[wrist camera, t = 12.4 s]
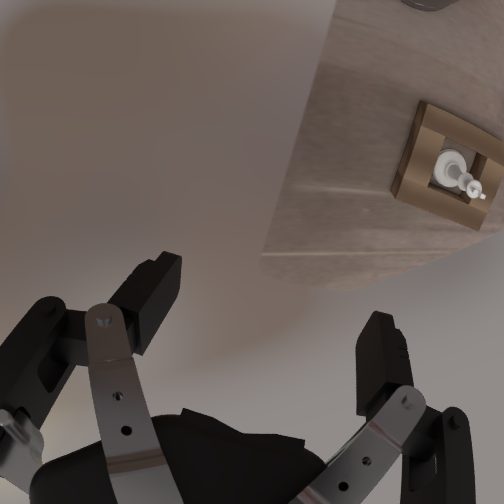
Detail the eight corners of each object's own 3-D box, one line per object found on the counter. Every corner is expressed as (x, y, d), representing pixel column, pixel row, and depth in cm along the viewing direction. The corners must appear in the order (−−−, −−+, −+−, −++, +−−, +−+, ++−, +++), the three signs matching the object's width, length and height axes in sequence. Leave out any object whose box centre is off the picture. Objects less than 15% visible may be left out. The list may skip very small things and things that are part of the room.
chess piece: (441, 142, 32) (475, 164, 23) (470, 159, 32) (508, 186, 23) (425, 176, 34) (453, 207, 26) (455, 192, 34) (487, 226, 26)
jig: (419, 101, 30) (427, 103, 27) (501, 142, 29) (512, 148, 26) (390, 190, 36) (395, 199, 34) (470, 221, 35) (478, 231, 33)
